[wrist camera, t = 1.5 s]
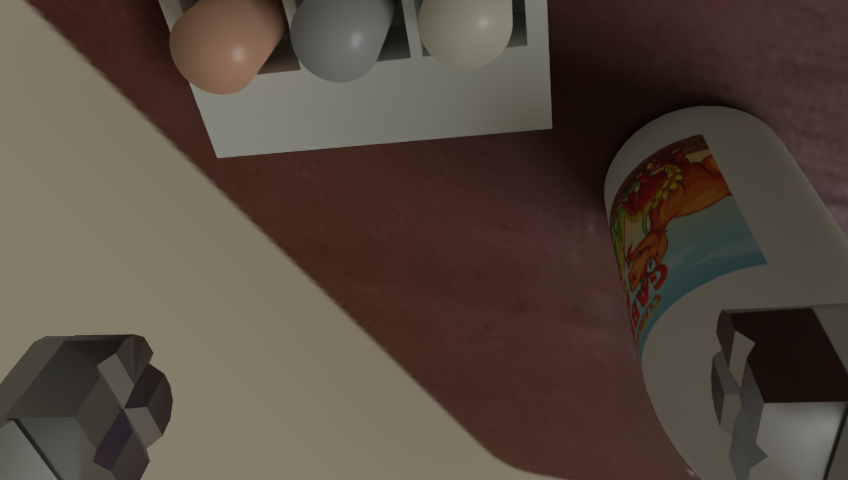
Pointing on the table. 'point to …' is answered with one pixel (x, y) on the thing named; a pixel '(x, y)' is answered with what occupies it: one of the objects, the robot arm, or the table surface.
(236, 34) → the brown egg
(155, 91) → the table surface
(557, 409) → the table surface
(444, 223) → the table surface
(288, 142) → the white compartment tray
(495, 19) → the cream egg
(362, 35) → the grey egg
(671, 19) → the table surface
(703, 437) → the milk bottle
